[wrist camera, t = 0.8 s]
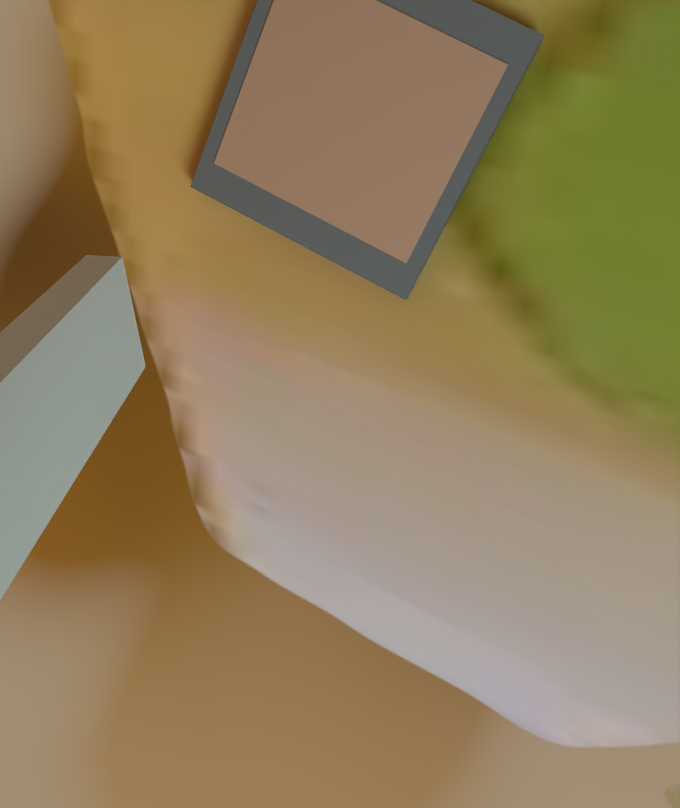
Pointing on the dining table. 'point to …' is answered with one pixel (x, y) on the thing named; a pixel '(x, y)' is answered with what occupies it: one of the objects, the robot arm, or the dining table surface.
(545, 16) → the dining table surface
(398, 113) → the tray
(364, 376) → the dining table surface
